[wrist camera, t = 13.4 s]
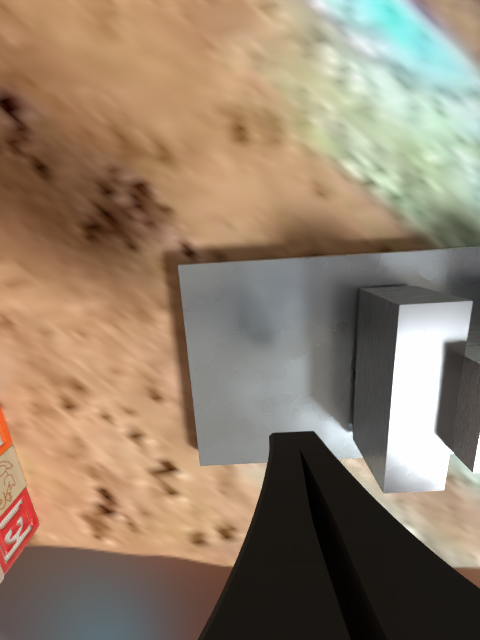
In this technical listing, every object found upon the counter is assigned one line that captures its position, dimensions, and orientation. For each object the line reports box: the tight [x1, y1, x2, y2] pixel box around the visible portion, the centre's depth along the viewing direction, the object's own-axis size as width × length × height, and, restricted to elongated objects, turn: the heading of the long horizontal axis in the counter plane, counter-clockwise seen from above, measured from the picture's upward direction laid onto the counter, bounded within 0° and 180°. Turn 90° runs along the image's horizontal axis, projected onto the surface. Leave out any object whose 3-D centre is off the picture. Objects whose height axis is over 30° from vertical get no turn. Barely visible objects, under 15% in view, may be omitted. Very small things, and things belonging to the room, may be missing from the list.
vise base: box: [178, 246, 480, 466], centre depth 14 cm, size 20×11×5 cm, turn 93°
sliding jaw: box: [352, 285, 473, 493], centre depth 13 cm, size 2×8×4 cm, turn 3°
